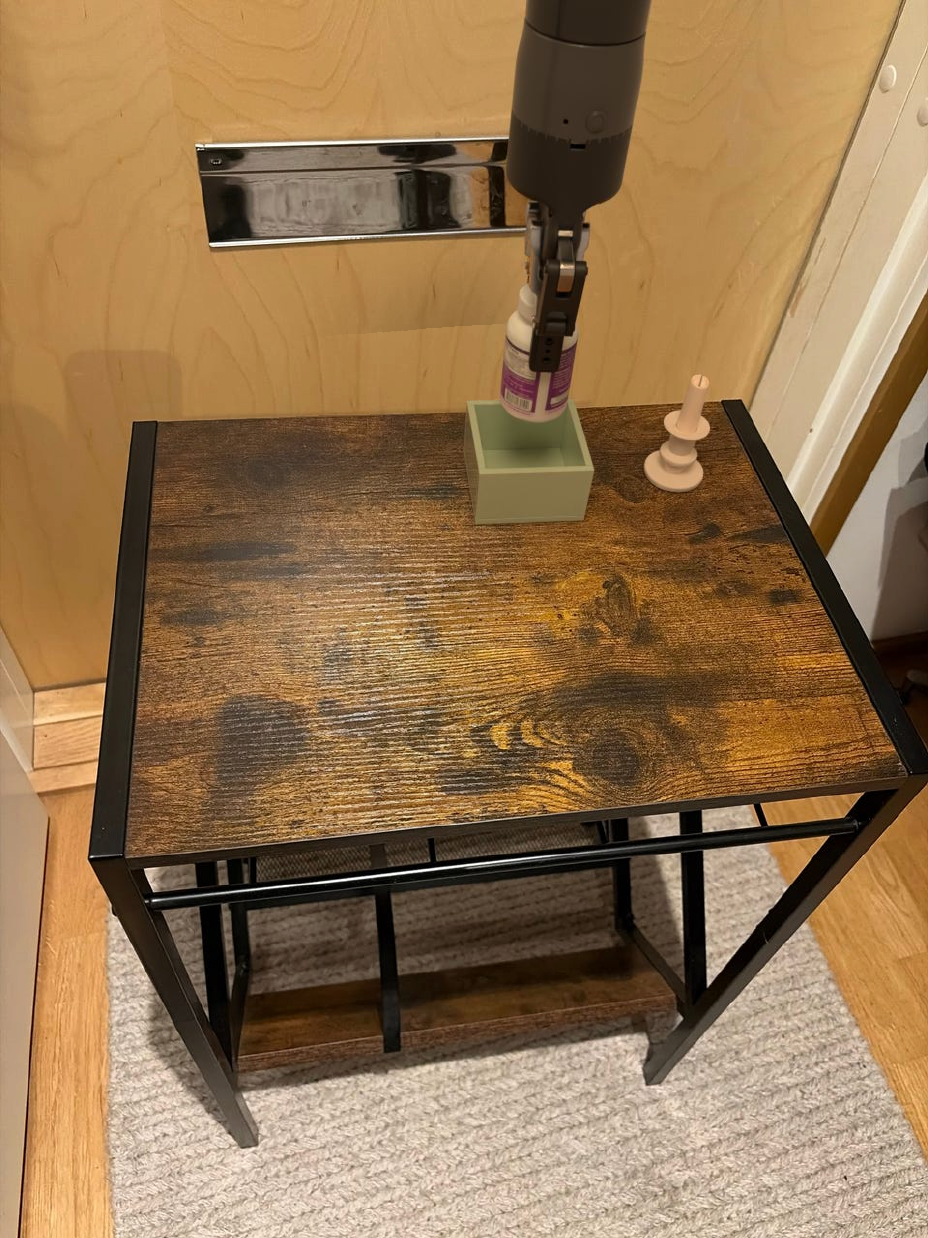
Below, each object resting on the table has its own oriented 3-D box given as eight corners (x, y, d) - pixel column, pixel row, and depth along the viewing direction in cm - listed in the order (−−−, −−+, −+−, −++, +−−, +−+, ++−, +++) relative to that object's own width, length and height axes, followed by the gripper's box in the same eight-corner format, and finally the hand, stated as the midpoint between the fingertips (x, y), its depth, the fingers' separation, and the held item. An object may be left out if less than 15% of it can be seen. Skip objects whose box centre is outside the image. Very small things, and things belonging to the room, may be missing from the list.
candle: (708, 492, 82) (742, 394, 74) (650, 493, 81) (678, 395, 73) (693, 452, 85) (724, 354, 77) (637, 453, 85) (662, 355, 77)
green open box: (583, 520, 79) (594, 470, 75) (474, 524, 78) (479, 473, 73) (564, 448, 85) (573, 397, 80) (462, 451, 84) (466, 400, 79)
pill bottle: (554, 380, 77) (572, 270, 69) (574, 421, 73) (595, 311, 66) (490, 387, 76) (501, 276, 68) (508, 428, 72) (521, 317, 65)
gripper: (506, 56, 62) (486, 290, 75) (519, 157, 52) (494, 404, 66) (619, 62, 62) (579, 294, 75) (652, 163, 53) (600, 407, 66)
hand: (540, 344), depth 70 cm, fingers closed on pill bottle, 5 cm apart
